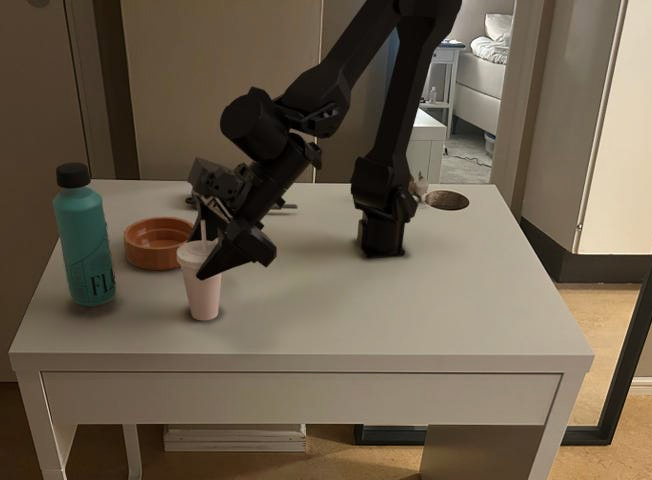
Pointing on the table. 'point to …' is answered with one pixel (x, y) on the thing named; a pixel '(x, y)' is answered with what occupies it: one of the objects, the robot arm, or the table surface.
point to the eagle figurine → (418, 187)
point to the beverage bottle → (83, 237)
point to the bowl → (156, 242)
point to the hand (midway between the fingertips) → (191, 266)
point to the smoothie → (198, 292)
